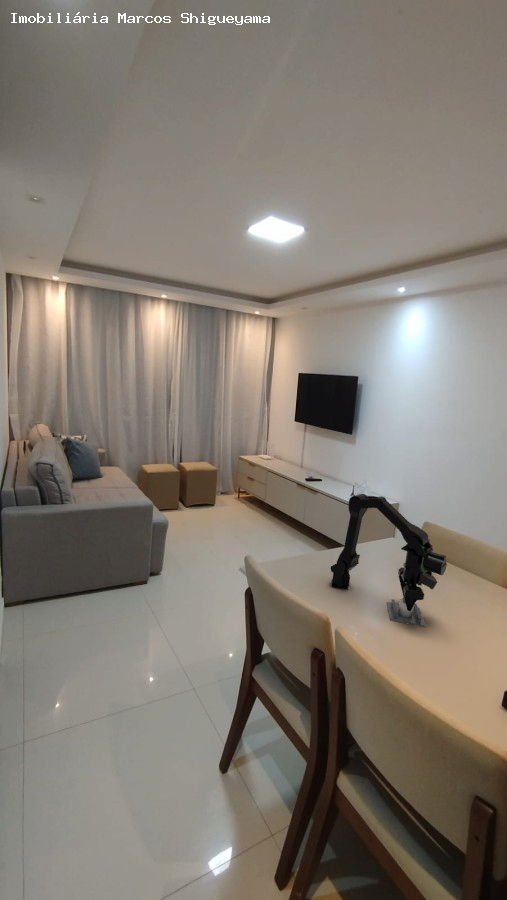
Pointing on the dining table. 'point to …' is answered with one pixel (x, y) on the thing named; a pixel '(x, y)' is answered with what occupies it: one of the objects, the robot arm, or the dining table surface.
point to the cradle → (397, 617)
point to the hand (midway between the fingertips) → (406, 604)
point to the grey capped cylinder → (404, 609)
